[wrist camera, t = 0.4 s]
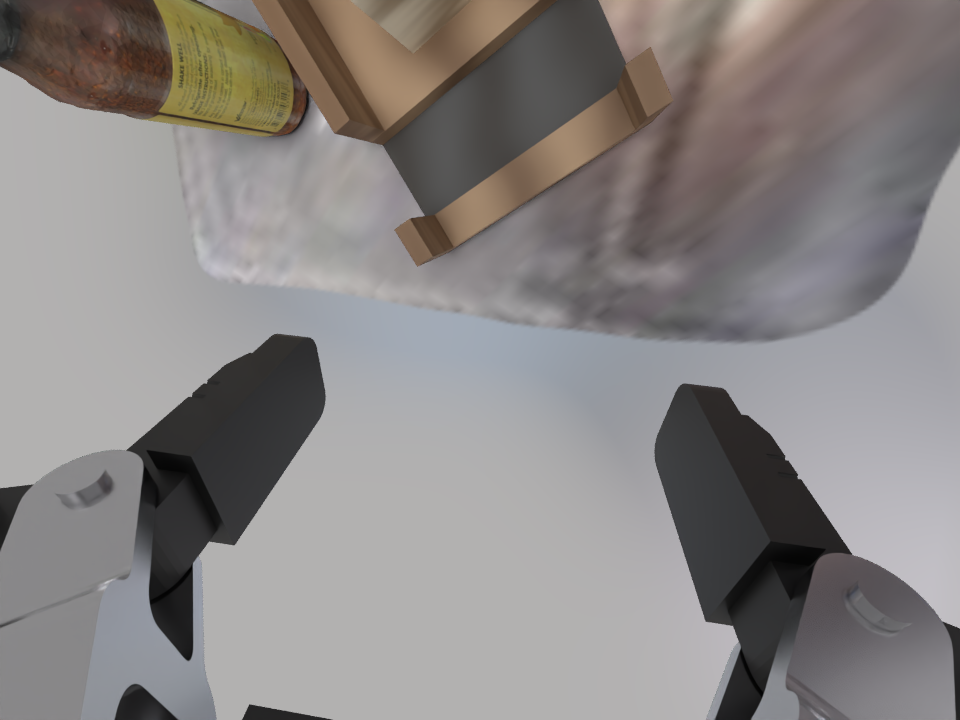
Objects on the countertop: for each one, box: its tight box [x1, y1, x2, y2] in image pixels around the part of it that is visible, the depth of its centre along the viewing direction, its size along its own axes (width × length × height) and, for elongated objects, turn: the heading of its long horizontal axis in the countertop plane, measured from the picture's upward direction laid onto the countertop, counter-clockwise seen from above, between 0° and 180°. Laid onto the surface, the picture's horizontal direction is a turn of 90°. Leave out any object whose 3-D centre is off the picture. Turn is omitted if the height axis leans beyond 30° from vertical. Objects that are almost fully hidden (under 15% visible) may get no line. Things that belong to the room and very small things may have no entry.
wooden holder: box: [252, 0, 673, 267], centre depth 22 cm, size 15×21×6 cm
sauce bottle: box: [0, 0, 307, 137], centre depth 20 cm, size 7×6×20 cm
